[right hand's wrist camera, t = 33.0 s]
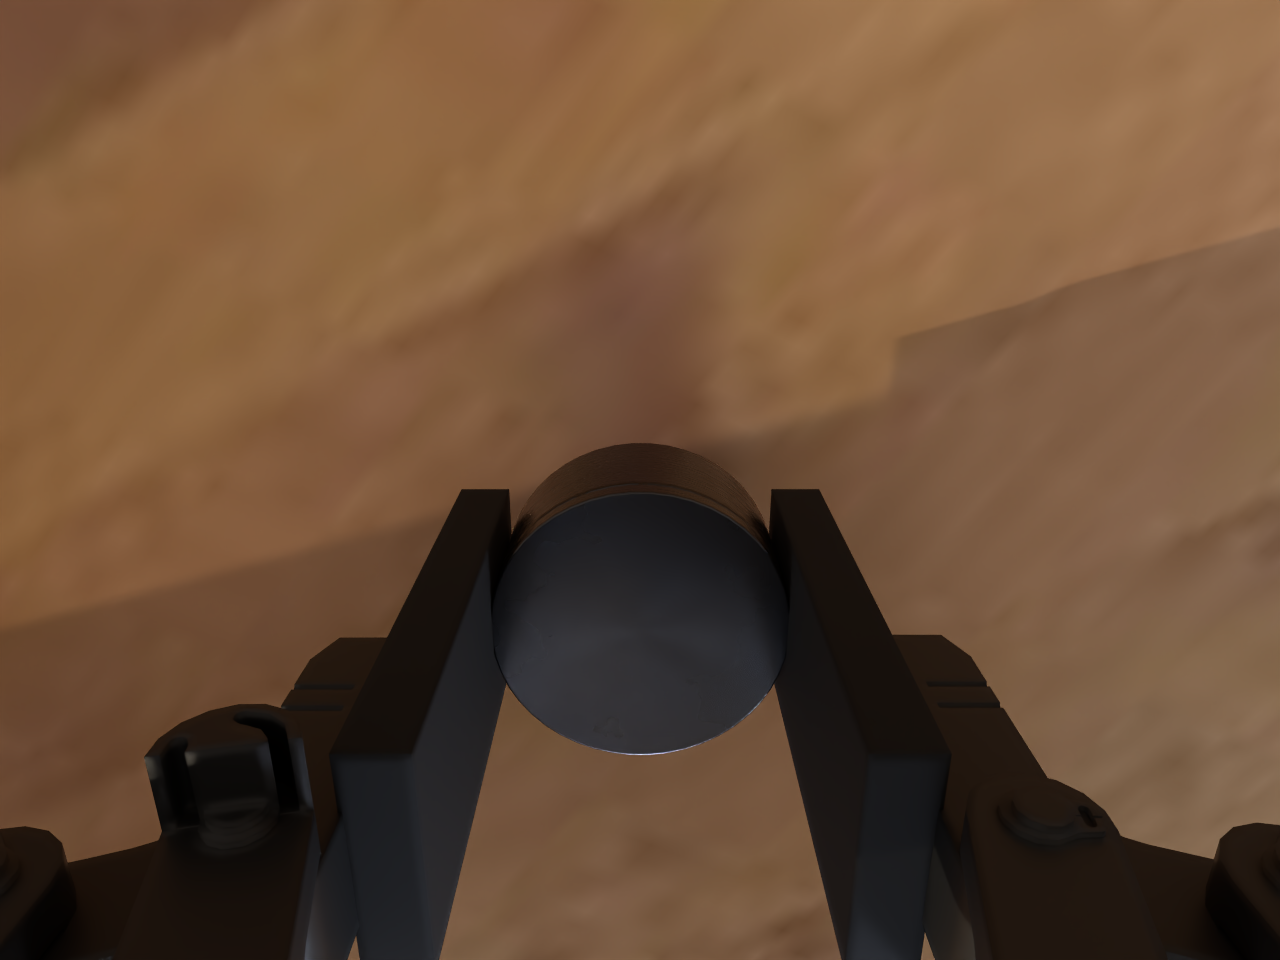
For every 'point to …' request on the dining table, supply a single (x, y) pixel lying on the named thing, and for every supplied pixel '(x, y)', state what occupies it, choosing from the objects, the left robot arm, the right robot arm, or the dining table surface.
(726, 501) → the cap
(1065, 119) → the dining table surface
